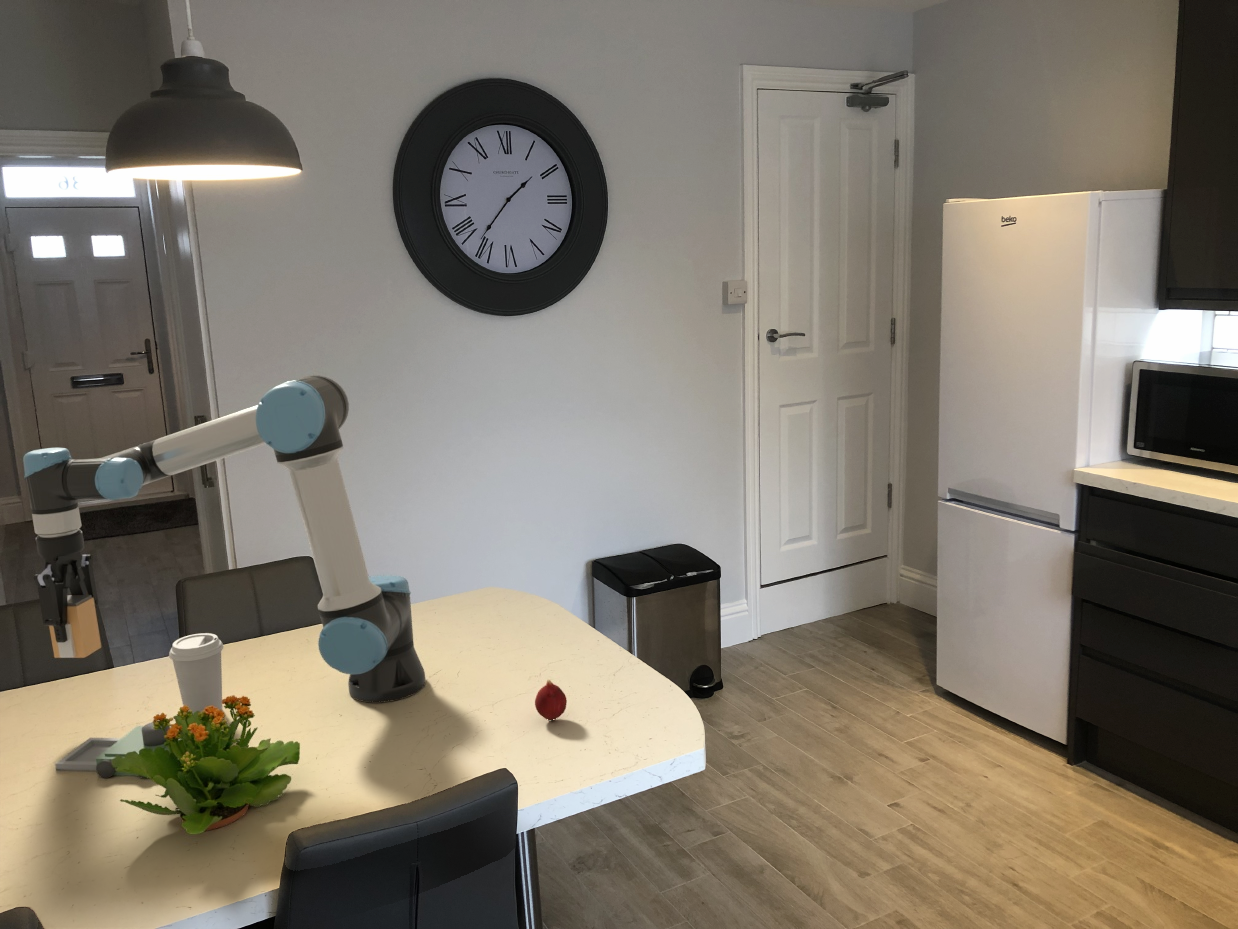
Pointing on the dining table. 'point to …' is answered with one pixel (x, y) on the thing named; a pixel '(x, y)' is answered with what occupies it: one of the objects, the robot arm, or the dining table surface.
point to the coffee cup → (198, 670)
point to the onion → (550, 701)
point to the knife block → (80, 626)
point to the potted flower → (211, 766)
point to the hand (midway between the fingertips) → (77, 650)
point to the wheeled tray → (112, 751)
